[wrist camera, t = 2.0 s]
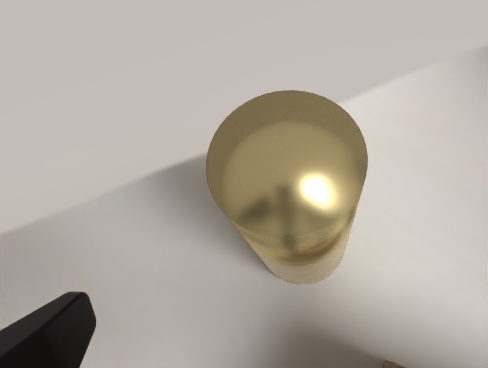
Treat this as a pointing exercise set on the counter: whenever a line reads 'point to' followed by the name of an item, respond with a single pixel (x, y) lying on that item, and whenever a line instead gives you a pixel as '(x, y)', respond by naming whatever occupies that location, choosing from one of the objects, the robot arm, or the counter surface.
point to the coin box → (391, 365)
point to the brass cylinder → (290, 180)
